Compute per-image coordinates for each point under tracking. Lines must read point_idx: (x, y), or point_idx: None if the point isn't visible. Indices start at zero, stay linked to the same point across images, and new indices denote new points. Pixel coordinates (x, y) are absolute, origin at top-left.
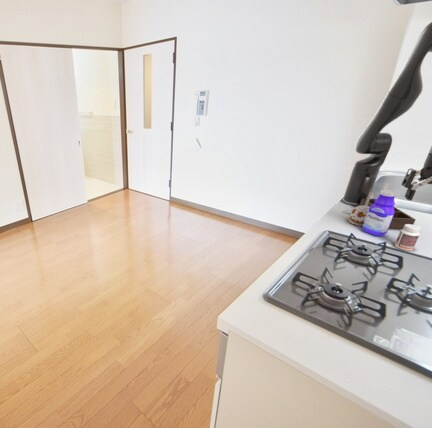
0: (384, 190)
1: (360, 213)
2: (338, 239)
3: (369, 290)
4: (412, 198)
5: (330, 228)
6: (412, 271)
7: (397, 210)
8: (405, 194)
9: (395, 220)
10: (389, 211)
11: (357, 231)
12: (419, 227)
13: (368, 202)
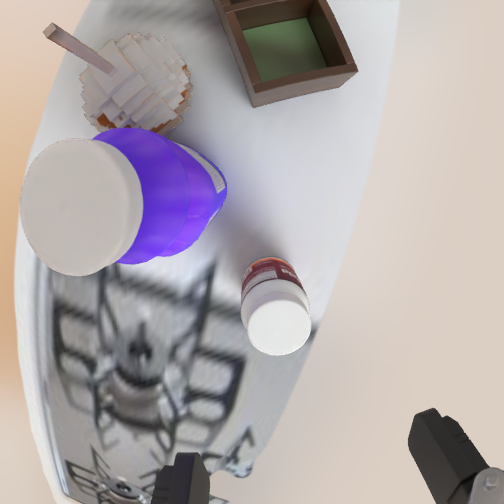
0: (38, 180)
1: (105, 116)
2: (77, 307)
3: None
4: (208, 495)
5: None
6: (251, 420)
7: None
8: (155, 487)
9: (272, 92)
10: (171, 251)
11: None
12: (306, 328)
13: (104, 62)
